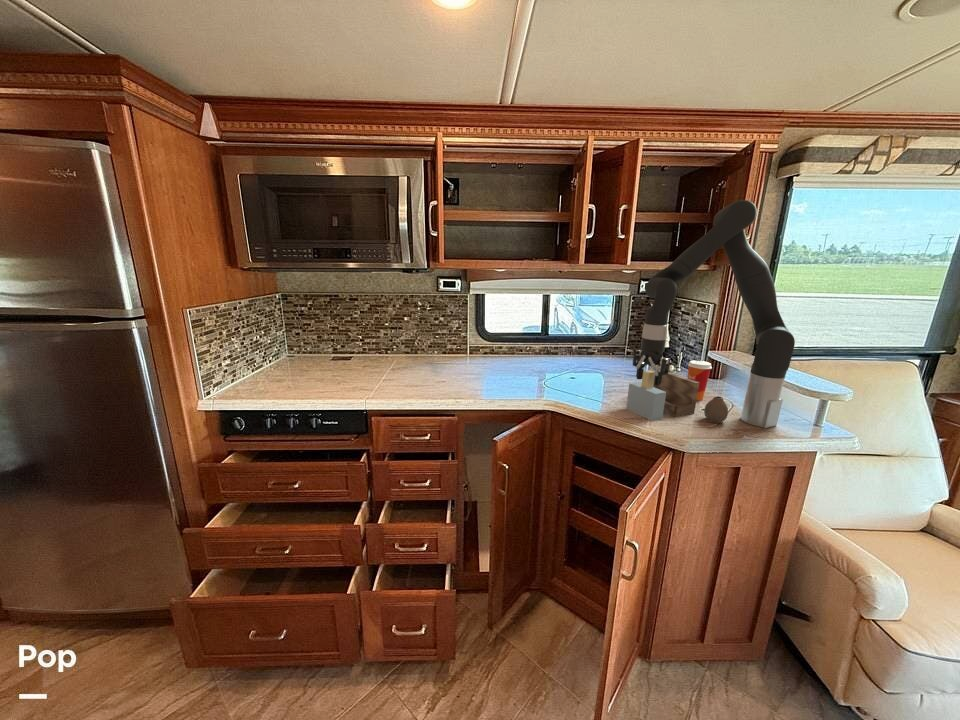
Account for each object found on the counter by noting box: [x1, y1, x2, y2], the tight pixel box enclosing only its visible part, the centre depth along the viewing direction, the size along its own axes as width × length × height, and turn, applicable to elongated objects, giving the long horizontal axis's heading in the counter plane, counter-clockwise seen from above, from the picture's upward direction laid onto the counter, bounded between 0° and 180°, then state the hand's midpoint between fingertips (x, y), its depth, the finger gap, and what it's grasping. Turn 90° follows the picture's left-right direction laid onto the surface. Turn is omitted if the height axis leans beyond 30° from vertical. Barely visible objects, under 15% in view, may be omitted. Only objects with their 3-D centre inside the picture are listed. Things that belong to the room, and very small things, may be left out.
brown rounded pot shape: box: [703, 395, 729, 424], centre depth 125 cm, size 7×7×9 cm
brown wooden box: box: [653, 370, 700, 418], centre depth 137 cm, size 18×10×12 cm, turn 22°
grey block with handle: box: [625, 369, 666, 422], centre depth 130 cm, size 12×5×16 cm, turn 22°
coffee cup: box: [687, 360, 713, 402], centre depth 145 cm, size 8×8×15 cm
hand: (647, 382), depth 129 cm, fingers open, 7 cm apart
